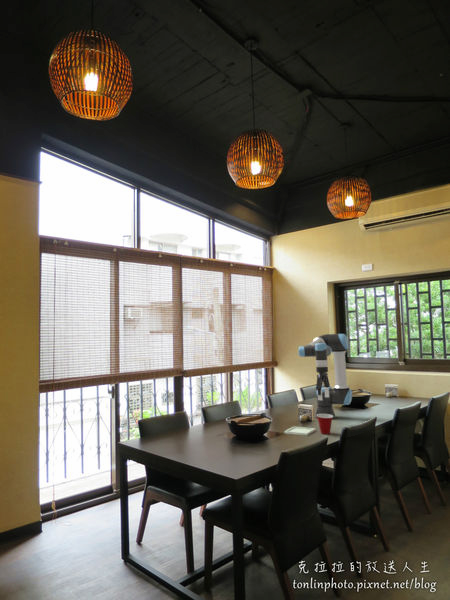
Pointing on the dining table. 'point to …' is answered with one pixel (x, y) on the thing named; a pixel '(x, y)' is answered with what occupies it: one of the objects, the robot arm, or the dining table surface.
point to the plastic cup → (325, 423)
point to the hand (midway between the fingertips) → (323, 398)
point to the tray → (300, 430)
